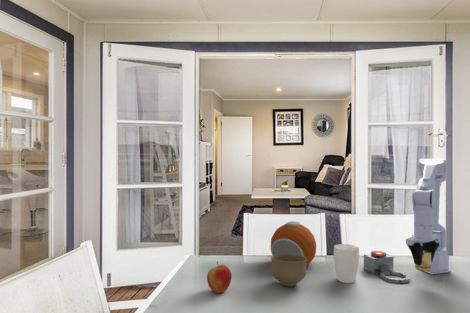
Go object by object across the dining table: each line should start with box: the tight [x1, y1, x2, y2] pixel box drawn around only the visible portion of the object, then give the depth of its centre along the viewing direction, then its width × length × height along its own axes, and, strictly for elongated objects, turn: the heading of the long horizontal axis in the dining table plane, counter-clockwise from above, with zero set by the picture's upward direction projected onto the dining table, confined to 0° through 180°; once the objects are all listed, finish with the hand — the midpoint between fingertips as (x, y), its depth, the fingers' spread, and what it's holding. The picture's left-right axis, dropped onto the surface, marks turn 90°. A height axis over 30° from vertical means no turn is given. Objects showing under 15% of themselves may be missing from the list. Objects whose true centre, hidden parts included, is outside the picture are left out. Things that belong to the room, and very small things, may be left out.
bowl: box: [270, 254, 307, 287], centre depth 125 cm, size 13×13×10 cm
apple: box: [206, 261, 232, 294], centre depth 119 cm, size 8×8×10 cm
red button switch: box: [363, 250, 411, 285], centre depth 136 cm, size 10×20×7 cm, turn 17°
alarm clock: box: [270, 221, 317, 268], centre depth 149 cm, size 19×18×17 cm
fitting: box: [414, 250, 432, 272], centre depth 124 cm, size 5×5×6 cm
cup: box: [333, 243, 360, 284], centre depth 130 cm, size 9×9×12 cm
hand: (423, 263), depth 124 cm, fingers closed on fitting, 5 cm apart
